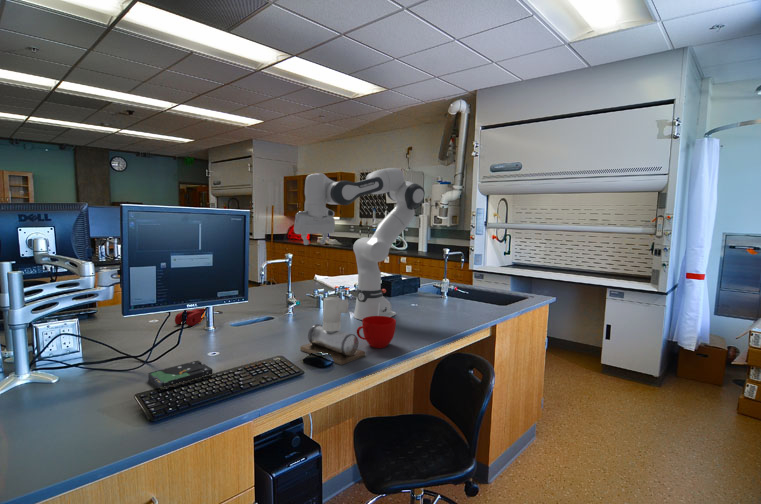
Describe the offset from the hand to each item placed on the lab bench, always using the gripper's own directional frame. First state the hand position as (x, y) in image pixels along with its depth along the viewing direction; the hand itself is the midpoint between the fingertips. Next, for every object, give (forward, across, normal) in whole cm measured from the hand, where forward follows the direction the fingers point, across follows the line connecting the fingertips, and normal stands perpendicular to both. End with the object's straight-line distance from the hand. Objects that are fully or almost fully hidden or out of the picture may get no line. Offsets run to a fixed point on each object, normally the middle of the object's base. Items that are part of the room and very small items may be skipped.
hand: (314, 244), depth 169 cm
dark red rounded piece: (+37, -29, +48) cm, 67 cm away
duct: (+37, -15, -27) cm, 48 cm away
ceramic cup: (+37, +1, -33) cm, 50 cm away
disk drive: (+38, -61, -9) cm, 72 cm away
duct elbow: (+28, -15, -28) cm, 42 cm away
